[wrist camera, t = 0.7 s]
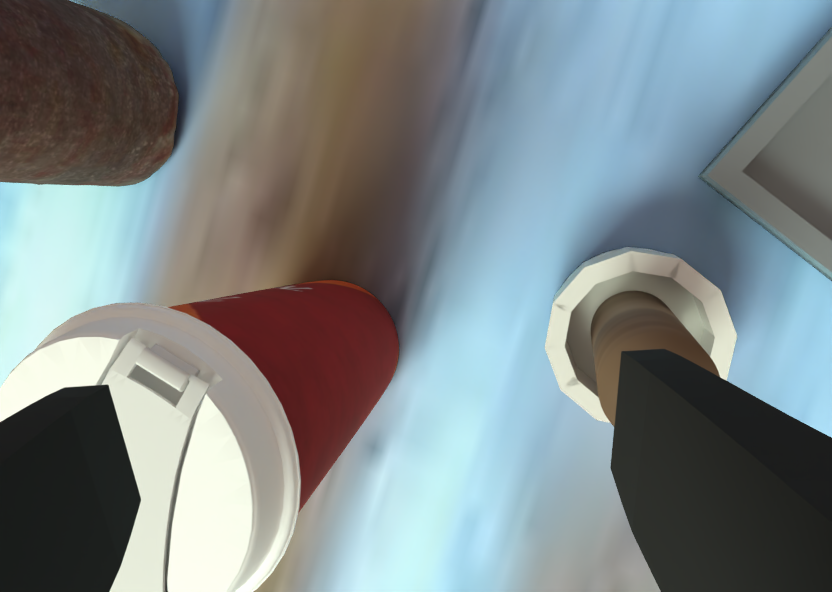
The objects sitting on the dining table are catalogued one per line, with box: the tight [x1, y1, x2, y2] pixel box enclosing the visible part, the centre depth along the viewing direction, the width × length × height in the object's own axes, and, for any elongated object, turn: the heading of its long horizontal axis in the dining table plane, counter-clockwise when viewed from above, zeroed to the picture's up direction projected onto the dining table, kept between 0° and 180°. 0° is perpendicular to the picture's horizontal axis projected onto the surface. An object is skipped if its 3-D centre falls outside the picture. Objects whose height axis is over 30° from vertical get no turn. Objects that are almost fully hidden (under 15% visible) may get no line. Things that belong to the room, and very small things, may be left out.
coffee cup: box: [0, 280, 399, 592], centre depth 22 cm, size 8×8×15 cm
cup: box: [545, 247, 737, 423], centre depth 25 cm, size 6×6×3 cm
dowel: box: [591, 291, 720, 426], centre depth 22 cm, size 3×3×8 cm
